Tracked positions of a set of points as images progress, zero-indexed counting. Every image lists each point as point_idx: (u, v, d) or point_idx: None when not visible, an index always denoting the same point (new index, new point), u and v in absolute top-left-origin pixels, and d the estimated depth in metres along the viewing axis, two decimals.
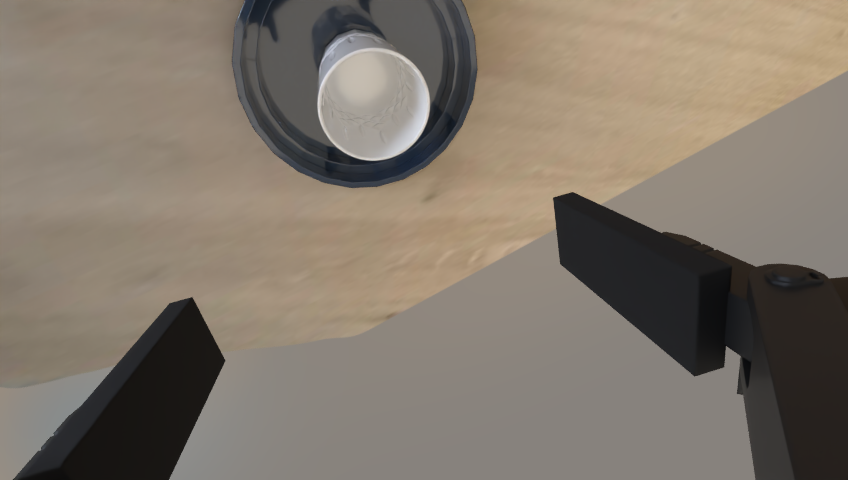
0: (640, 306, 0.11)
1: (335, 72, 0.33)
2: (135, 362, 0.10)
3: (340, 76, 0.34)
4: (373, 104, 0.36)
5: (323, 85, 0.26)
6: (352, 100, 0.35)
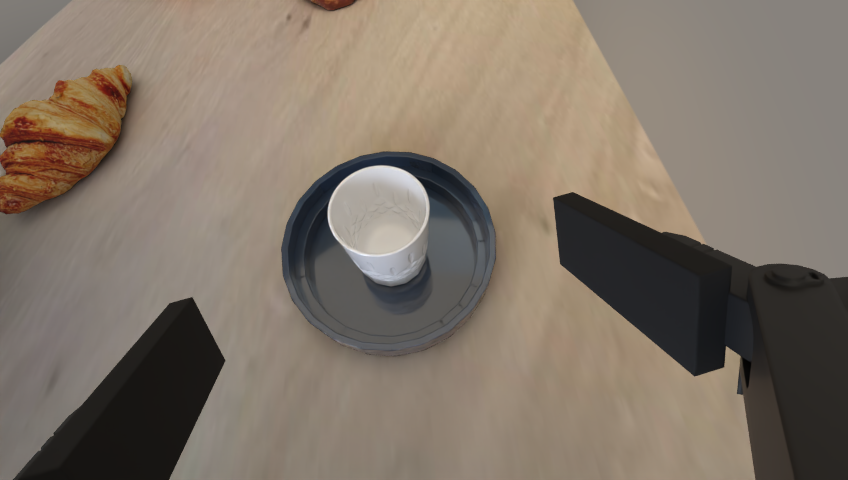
0: (640, 306, 0.11)
1: None
2: (135, 362, 0.10)
3: None
4: None
5: (342, 242, 0.30)
6: None
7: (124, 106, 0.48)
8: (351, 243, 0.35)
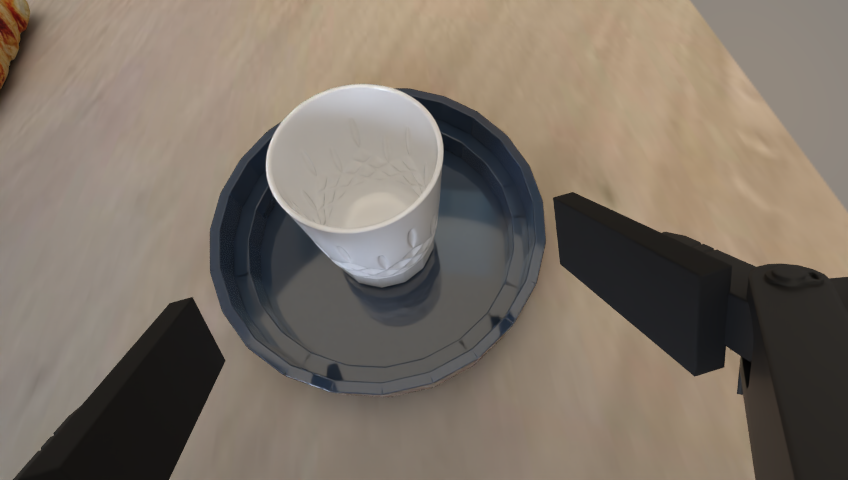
0: (640, 306, 0.11)
1: None
2: (135, 362, 0.10)
3: None
4: None
5: (288, 209, 0.17)
6: None
7: (14, 44, 0.35)
8: (317, 219, 0.22)
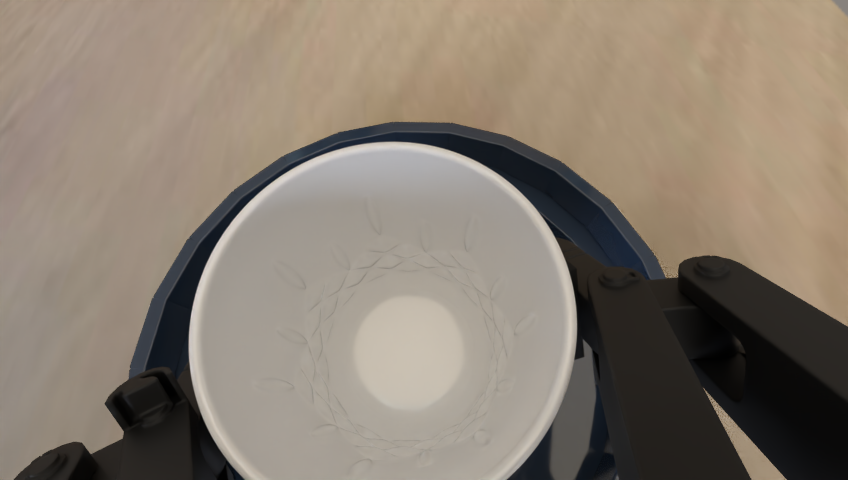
0: None
1: (383, 406, 0.15)
2: None
3: (395, 398, 0.15)
4: (474, 344, 0.15)
5: (231, 453, 0.07)
6: (453, 389, 0.15)
7: None
8: (307, 362, 0.13)
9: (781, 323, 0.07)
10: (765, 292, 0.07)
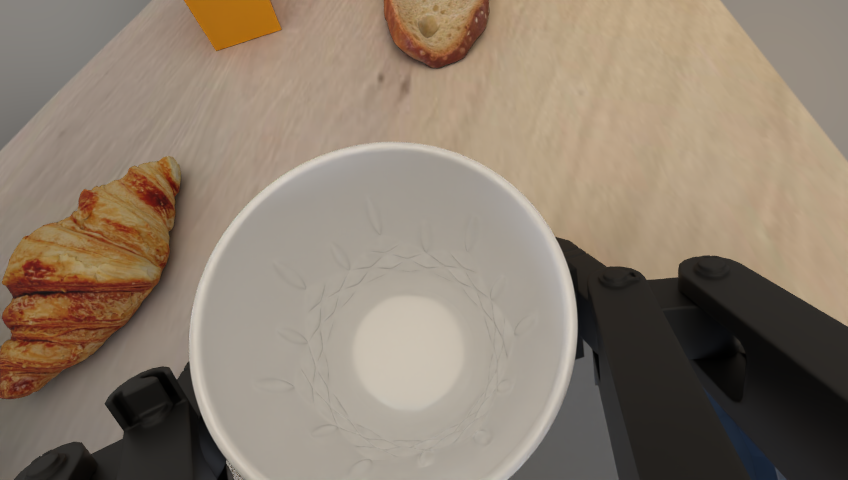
0: None
1: (383, 406, 0.15)
2: None
3: (395, 398, 0.15)
4: (474, 344, 0.15)
5: (232, 453, 0.07)
6: (453, 389, 0.15)
7: (173, 215, 0.35)
8: (307, 363, 0.13)
9: (781, 323, 0.07)
10: (766, 292, 0.07)
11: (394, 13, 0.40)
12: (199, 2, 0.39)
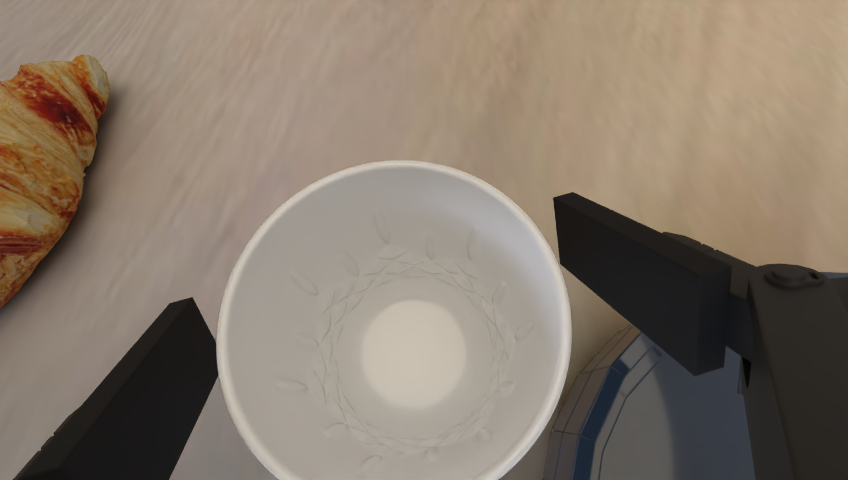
0: (640, 306, 0.11)
1: (390, 405, 0.16)
2: (135, 362, 0.10)
3: (401, 398, 0.16)
4: (476, 347, 0.16)
5: (257, 447, 0.08)
6: (456, 390, 0.16)
7: (91, 142, 0.22)
8: (319, 364, 0.14)
9: None
10: None
11: None
12: None
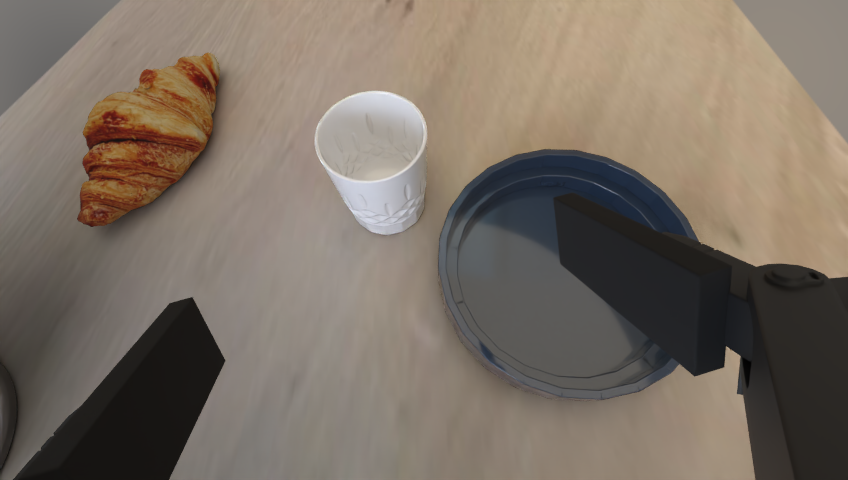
0: (640, 306, 0.11)
1: None
2: (135, 362, 0.10)
3: None
4: None
5: (330, 168, 0.27)
6: None
7: (214, 100, 0.41)
8: None
9: None
10: None
11: None
12: None
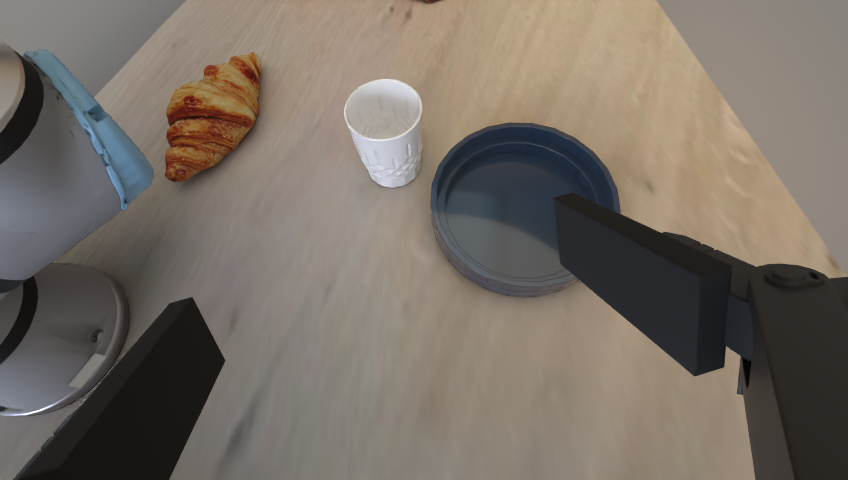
0: (640, 306, 0.11)
1: None
2: (135, 362, 0.10)
3: None
4: None
5: (355, 131, 0.39)
6: None
7: (258, 89, 0.53)
8: None
9: None
10: None
11: None
12: None
